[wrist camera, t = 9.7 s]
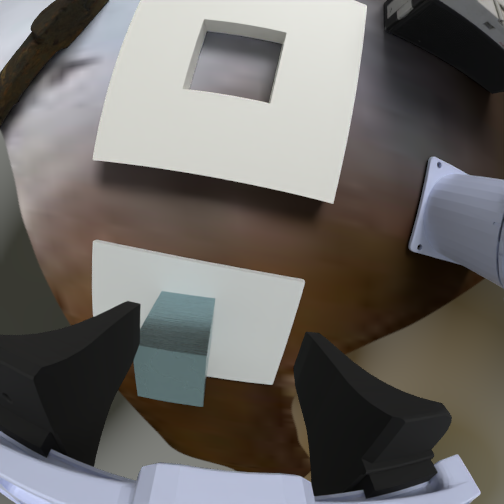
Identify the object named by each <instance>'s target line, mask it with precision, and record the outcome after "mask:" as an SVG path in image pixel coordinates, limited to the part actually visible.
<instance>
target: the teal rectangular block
mask: <svg viewBox="0 0 504 504" xmlns="http://www.w3.org/2000/svg"><path fill="white" fill-rule="evenodd" d="M214 307H215V298H208V297H201V296H193V295H186V294H179V293H172V292H165V291H161V293H160V295H159V297H158V298H157V300H156V302H155V304H154V305H153V307H152V309H151V311H150V312H149V314H148V316H147V318H146V319H145V321H144V323H143V325H142V327H141V328H140V344H139V347H138V350H137V352H136V355H135V358H134V370H135V378H136V386H137V394H138V396H141V397H146V398H151V399H156V400H161V401H167V402H173V403H179V404H185V405H192V406H200V407H203V402H204V394H205V386H206V377H207V370H208V362H209V354H210V346H211V337H212V327H213V317H214Z"/></svg>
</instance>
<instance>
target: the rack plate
mask: <svg viewBox="0 0 504 504" xmlns="http://www.w3.org/2000/svg"><path fill="white" fill-rule="evenodd" d="M366 10H367V5H364V4H362V3H359V2H357V1H354V0H140V2H139V5H138V7H137V9H136V11H135V14H134V16H133V18H132V21H131V23H130V26H129V28H128V31H127V33H126V36H125V38H124V41H123V44H122V46H121V49H120V52H119V55H118V58H117V61H116V64H115V67H114V70H113V73H112V77H111V80H110V84H109V87H108V91H107V94H106V98H105V102H104V106H103V110H102V114H101V119H100V123H99V128H98V133H97V138H96V143H95V148H94V154H93V160H97V161H107V162H115V163H124V164H132V165H139V166H146V167H154V168H160V169H167V170H174V171H180V172H186V173H192V174H198V175H204V176H209V177H215V178H220V179H225V180H231V181H236V182H241V183H246V184H251V185H255V186H260V187H265V188H270V189H274V190H279V191H283V192H287V193H292V194H296V195H300V196H305V197H309V198H313V199H317V200H321V201H325V202H329V203H333V202H334V198H335V194H336V189H337V185H338V181H339V176H340V172H341V167H342V163H343V158H344V153H345V149H346V144H347V139H348V134H349V128H350V123H351V118H352V112H353V107H354V101H355V95H356V89H357V82H358V76H359V69H360V62H361V55H362V47H363V39H364V30H365V21H366ZM207 32H216V33H224V34H232V35H238V36H244V37H250V38H256V39H261V40H266V41H271V42H275V43H279V44H282V48H281V52H280V56H279V60H278V65H277V69H276V73H275V78H274V82H273V86H272V91H271V95H270V99H269V103H266V102H261V101H257V100H252V99H247V98H241V97H236V96H230V95H224V94H218V93H211V92H204V91H197V90H190V86H191V83H192V79H193V75H194V72H195V68H196V65H197V61H198V58H199V55H200V52H201V48H202V45H203V42H204V39H205V36H206V33H207Z"/></svg>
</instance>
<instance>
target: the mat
mask: <svg viewBox="0 0 504 504" xmlns="http://www.w3.org/2000/svg"><path fill="white" fill-rule="evenodd" d="M304 285H305V281H304V279H299V278H293V277H287V276H282V275H276V274H271V273H265V272H260V271H254V270H249V269H243V268H238V267H232V266H227V265H222V264H216V263H211V262H206V261H201V260H195V259H190V258H185V257H180V256H175V255H170V254H165V253H160V252H155V251H150V250H145V249H140V248H135V247H130V246H125V245H120V244H115V243H111V242H106V241H101V240H95V241H93V252H92V302H93V317H95V316H97V315H99V314H101V313H103V312H105V311H107V310H109V309H111V308H113V307H115V306H117V305H119V304H121V303H124V302H126V301H130V302H135V303H139V304H141V308H140V328H141V327H142V325H143V323H144V321H145V319H146V318H147V316H148V314H149V312H150V311H151V309H152V307H153V305H154V304H155V302H156V300H157V298H158V297H159V295H160V293H161V291H165V292H172V293H179V294H186V295H193V296H201V297H208V298H215V307H214V317H213V327H212V337H211V346H210V354H209V362H208V370H207V376H209V377H215V378H221V379H228V380H235V381H243V382H251V383H259V384H269V385H272V384H273V381H274V379H275V376H276V373H277V370H278V367H279V364H280V361H281V358H282V355H283V352H284V349H285V346H286V343H287V340H288V337H289V334H290V331H291V327H292V324H293V321H294V318H295V315H296V311H297V308H298V305H299V302H300V298H301V295H302V291H303V288H304Z"/></svg>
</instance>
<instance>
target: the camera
mask: <svg viewBox="0 0 504 504" xmlns="http://www.w3.org/2000/svg"><path fill="white" fill-rule="evenodd" d="M384 7H385V30H386V31H388V32H390V33H392V34H394V35H396V36H399V37H401V38H403V39H405V40H407V41H409V42H411V43H413V44H415V45H417V46H419V47H421V48H423V49H424V50H426V51H428V52H430V53H432V54H434V55H435V56H437V57H439V58H441V59H442V60H444V61H446V62H447V63H449V64H450V65H452V66H454V67H455V68H457V69H458V70H460V71H461V72H463V73H464V74H466V75H467V76H469V77H470V78H472V79H473V80H474V81H476V82H477V83H479V84H480V85H481V86H483V87H484V88H485V89H487V90H488V91H489V92H491V93H492V94H493V93H498V92H504V0H387V1H386V2H385V3H384Z"/></svg>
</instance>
